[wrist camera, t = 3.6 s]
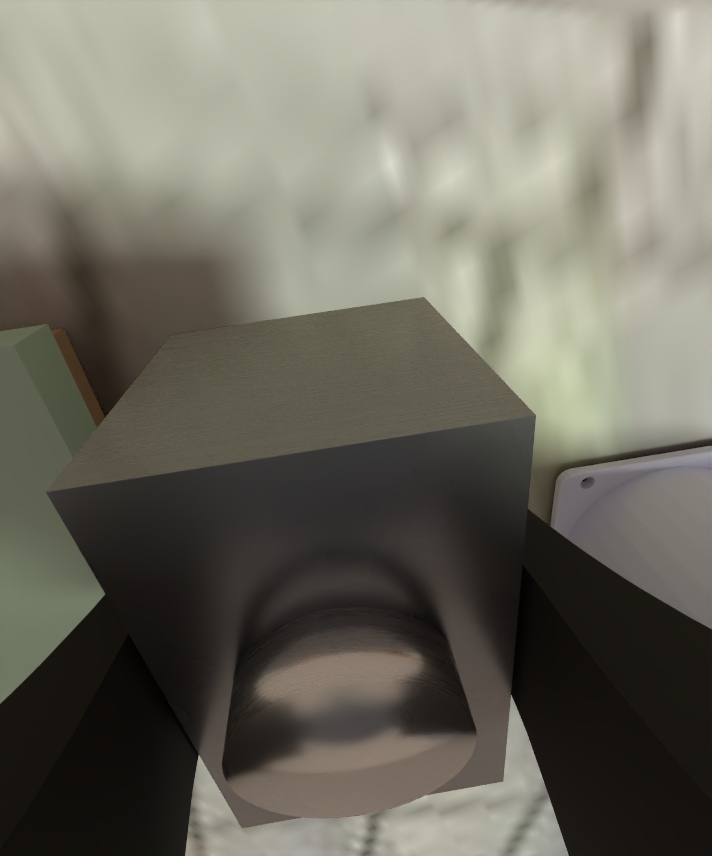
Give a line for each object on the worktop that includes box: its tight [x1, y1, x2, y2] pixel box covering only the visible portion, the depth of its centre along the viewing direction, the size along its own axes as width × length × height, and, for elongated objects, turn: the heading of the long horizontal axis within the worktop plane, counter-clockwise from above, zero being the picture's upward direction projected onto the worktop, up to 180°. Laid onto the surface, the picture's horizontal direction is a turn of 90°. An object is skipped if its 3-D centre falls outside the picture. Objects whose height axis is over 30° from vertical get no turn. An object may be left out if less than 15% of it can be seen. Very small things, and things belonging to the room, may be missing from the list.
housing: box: [46, 297, 536, 828], centre depth 8 cm, size 5×8×6 cm, turn 7°
